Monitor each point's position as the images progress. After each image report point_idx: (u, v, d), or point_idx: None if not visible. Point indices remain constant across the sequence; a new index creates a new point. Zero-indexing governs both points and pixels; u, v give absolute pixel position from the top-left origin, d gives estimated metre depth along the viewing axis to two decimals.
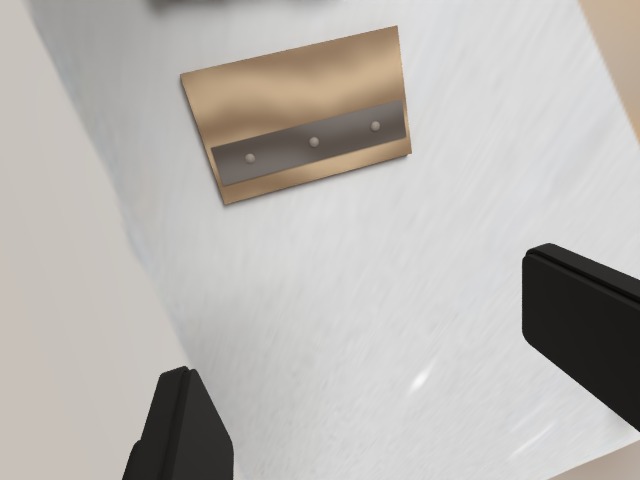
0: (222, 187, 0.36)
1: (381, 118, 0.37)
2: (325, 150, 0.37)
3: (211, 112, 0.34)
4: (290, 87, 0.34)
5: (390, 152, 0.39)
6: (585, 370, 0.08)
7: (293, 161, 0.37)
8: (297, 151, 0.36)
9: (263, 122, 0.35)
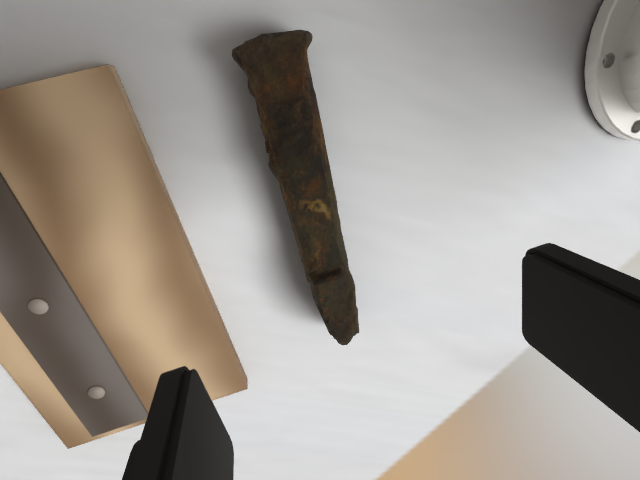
0: None
1: (112, 397, 0.23)
2: (28, 326, 0.20)
3: (45, 119, 0.17)
4: (130, 260, 0.20)
5: (59, 420, 0.23)
6: (585, 370, 0.08)
7: None
8: (10, 280, 0.19)
9: (53, 217, 0.19)
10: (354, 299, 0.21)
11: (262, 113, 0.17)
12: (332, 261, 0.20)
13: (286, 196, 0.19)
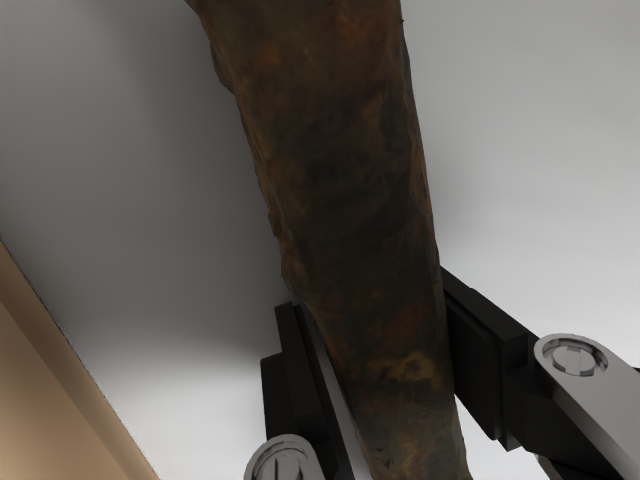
0: None
1: None
2: None
3: None
4: None
5: None
6: None
7: None
8: None
9: None
10: None
11: (258, 140, 0.06)
12: (439, 470, 0.09)
13: (331, 348, 0.07)
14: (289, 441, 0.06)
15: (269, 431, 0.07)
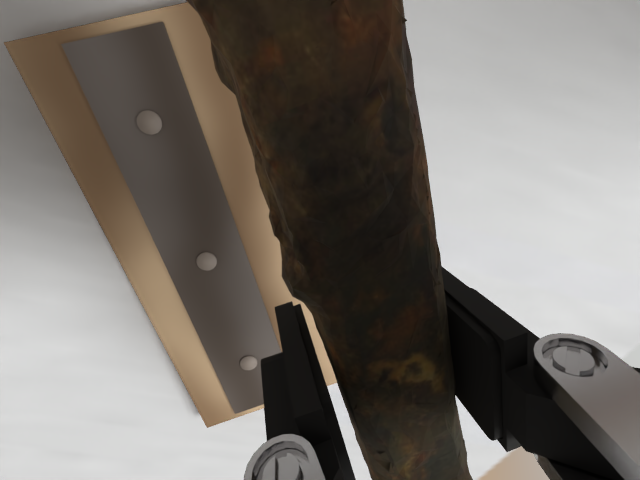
0: (58, 43, 0.14)
1: None
2: (192, 284, 0.18)
3: None
4: None
5: (203, 395, 0.21)
6: None
7: (158, 222, 0.17)
8: (182, 229, 0.17)
9: (237, 156, 0.16)
10: None
11: (258, 140, 0.05)
12: (440, 472, 0.09)
13: (331, 350, 0.07)
14: (289, 441, 0.06)
15: (269, 431, 0.07)
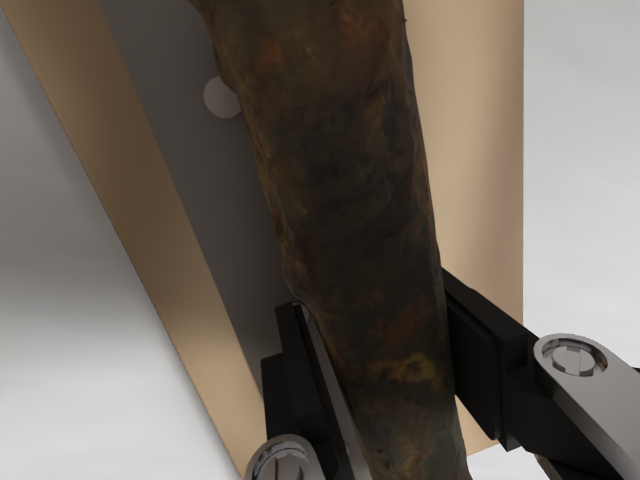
0: None
1: (355, 458, 0.15)
2: (269, 350, 0.12)
3: None
4: (441, 235, 0.12)
5: None
6: None
7: (226, 260, 0.10)
8: (262, 270, 0.11)
9: None
10: None
11: (259, 140, 0.06)
12: (439, 472, 0.09)
13: (332, 349, 0.07)
14: (289, 441, 0.06)
15: (269, 431, 0.07)
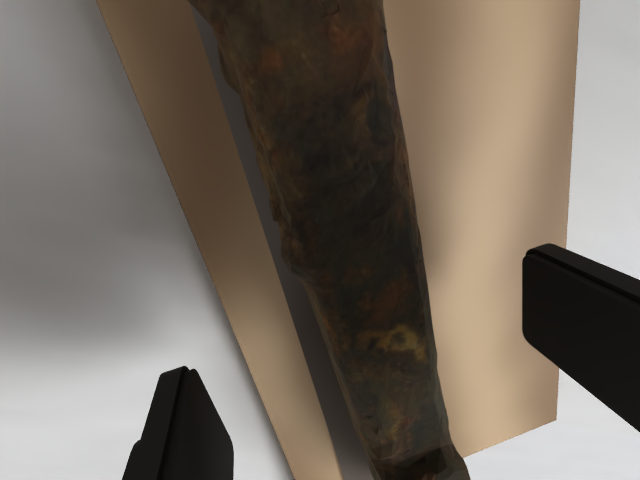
0: None
1: None
2: None
3: None
4: (489, 219, 0.12)
5: (313, 479, 0.15)
6: (585, 370, 0.08)
7: None
8: None
9: (411, 138, 0.11)
10: None
11: (261, 133, 0.06)
12: (424, 437, 0.09)
13: (325, 322, 0.08)
14: None
15: None
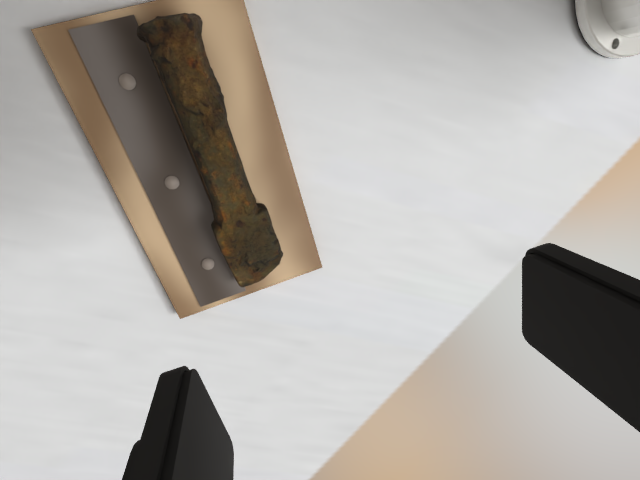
0: (66, 29, 0.21)
1: (219, 270, 0.28)
2: (162, 200, 0.26)
3: None
4: (241, 145, 0.26)
5: (176, 291, 0.28)
6: (585, 370, 0.08)
7: (136, 152, 0.24)
8: (153, 158, 0.24)
9: None
10: None
11: (204, 73, 0.21)
12: None
13: (229, 144, 0.23)
14: None
15: None
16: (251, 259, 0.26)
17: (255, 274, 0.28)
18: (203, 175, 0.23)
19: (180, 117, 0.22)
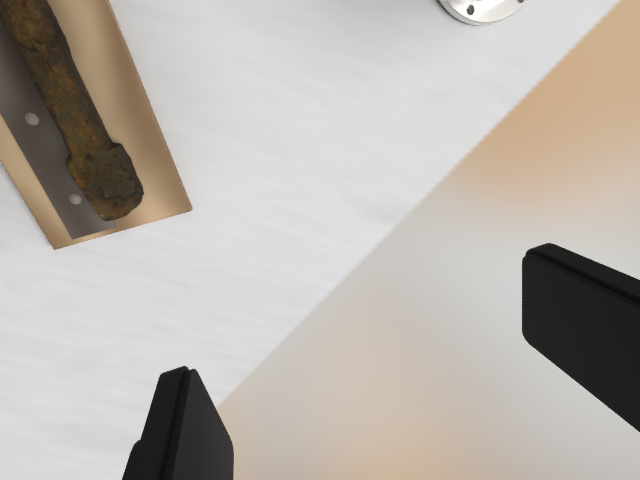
0: None
1: (87, 205, 0.31)
2: (24, 135, 0.28)
3: None
4: (98, 88, 0.29)
5: (47, 223, 0.31)
6: (585, 370, 0.08)
7: None
8: (12, 95, 0.27)
9: None
10: None
11: (36, 12, 0.24)
12: (108, 137, 0.29)
13: (69, 81, 0.26)
14: None
15: None
16: (106, 193, 0.29)
17: (116, 209, 0.30)
18: (47, 109, 0.26)
19: None
